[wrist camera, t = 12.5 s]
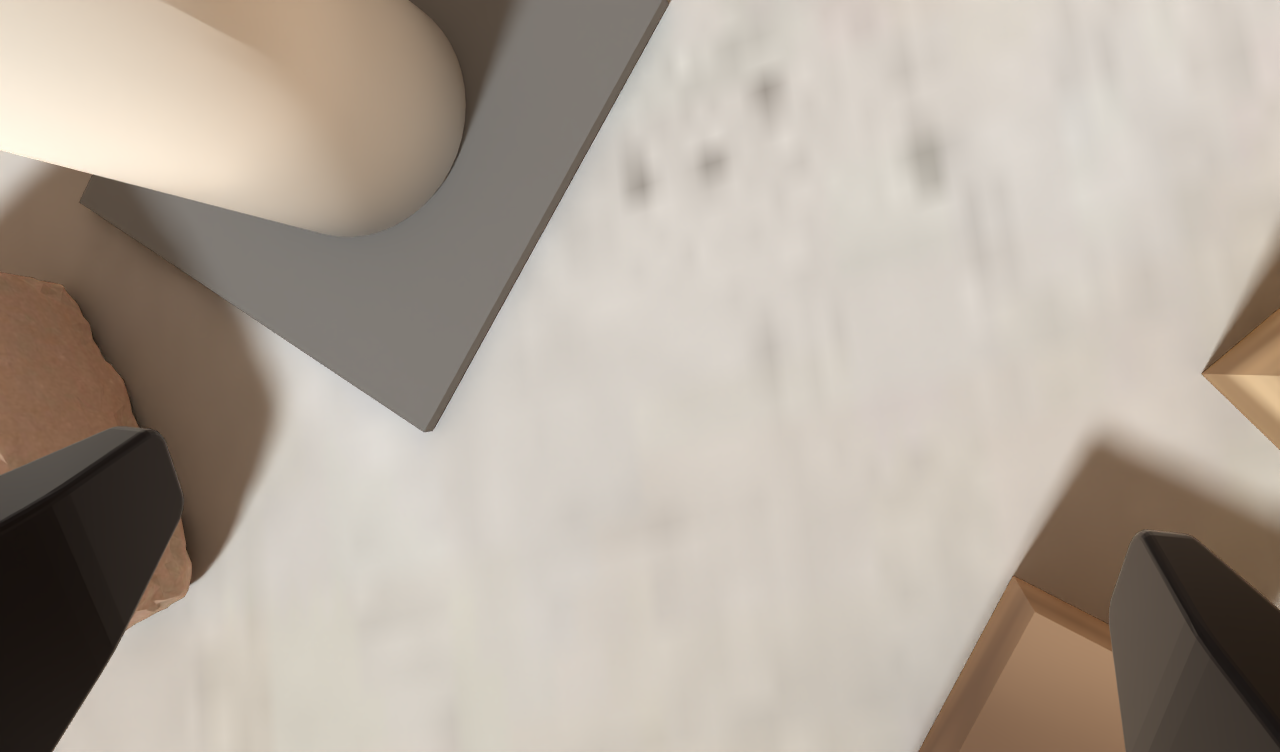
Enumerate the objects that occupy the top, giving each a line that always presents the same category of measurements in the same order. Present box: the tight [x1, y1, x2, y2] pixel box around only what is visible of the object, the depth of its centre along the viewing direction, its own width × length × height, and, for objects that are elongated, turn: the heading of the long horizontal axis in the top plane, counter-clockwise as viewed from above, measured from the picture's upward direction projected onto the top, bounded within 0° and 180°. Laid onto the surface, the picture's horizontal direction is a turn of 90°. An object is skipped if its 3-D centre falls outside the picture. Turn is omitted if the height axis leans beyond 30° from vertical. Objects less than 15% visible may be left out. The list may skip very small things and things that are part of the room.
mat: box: [80, 0, 668, 432], centre depth 21 cm, size 10×10×1 cm
